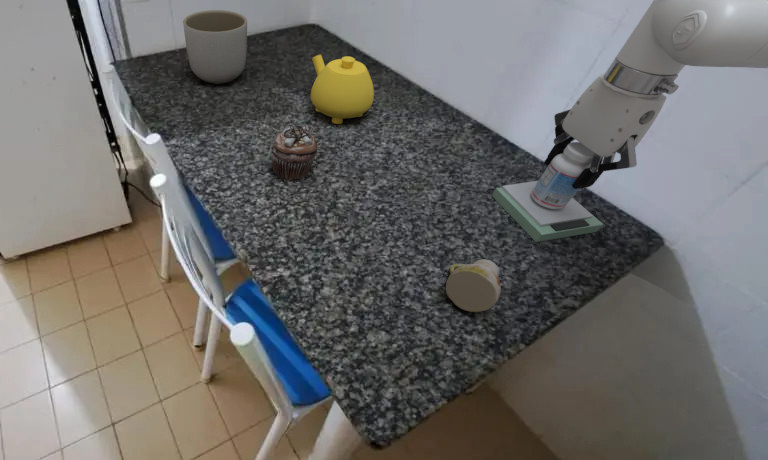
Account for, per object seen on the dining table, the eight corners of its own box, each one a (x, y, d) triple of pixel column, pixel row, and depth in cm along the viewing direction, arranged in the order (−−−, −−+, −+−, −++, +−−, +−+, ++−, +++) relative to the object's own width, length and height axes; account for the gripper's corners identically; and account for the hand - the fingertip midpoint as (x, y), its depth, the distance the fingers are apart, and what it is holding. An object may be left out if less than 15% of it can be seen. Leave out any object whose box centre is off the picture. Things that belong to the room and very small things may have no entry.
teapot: (287, 99, 106) (291, 47, 96) (332, 85, 111) (340, 35, 101) (334, 134, 94) (344, 78, 84) (382, 117, 100) (396, 63, 90)
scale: (596, 231, 72) (605, 222, 70) (535, 242, 70) (543, 232, 68) (546, 187, 81) (553, 177, 79) (491, 195, 79) (497, 185, 77)
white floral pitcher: (504, 282, 64) (534, 273, 55) (461, 322, 64) (484, 319, 54) (468, 250, 66) (490, 235, 57) (426, 288, 66) (442, 280, 57)
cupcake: (303, 152, 88) (308, 112, 81) (320, 178, 82) (327, 137, 75) (263, 159, 87) (264, 118, 79) (277, 186, 80) (279, 145, 73)
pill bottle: (572, 203, 73) (612, 153, 65) (552, 214, 71) (592, 164, 63) (541, 185, 77) (576, 136, 69) (522, 195, 75) (556, 145, 66)
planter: (182, 87, 109) (175, 29, 98) (197, 62, 121) (192, 8, 110) (242, 92, 108) (241, 34, 97) (251, 66, 120) (251, 11, 109)
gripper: (717, 103, 51) (623, 204, 64) (610, 51, 63) (548, 145, 76) (671, 108, 50) (585, 210, 63) (570, 54, 62) (515, 150, 75)
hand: (565, 174), depth 70 cm, fingers closed on pill bottle, 6 cm apart
